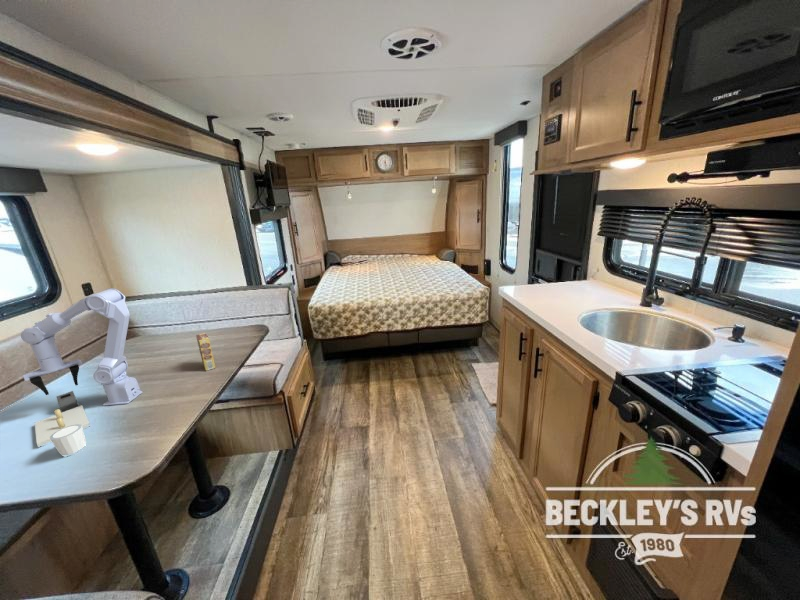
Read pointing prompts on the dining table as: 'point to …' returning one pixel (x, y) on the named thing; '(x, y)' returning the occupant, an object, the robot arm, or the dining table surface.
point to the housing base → (59, 423)
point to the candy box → (205, 351)
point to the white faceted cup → (69, 439)
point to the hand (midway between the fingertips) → (62, 389)
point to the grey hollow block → (67, 401)
